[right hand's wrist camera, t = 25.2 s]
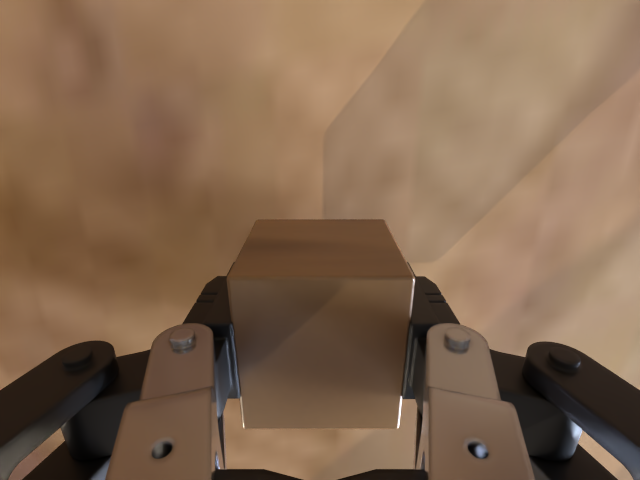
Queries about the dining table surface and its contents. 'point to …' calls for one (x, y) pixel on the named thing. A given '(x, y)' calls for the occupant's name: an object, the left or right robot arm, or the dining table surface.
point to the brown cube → (320, 324)
